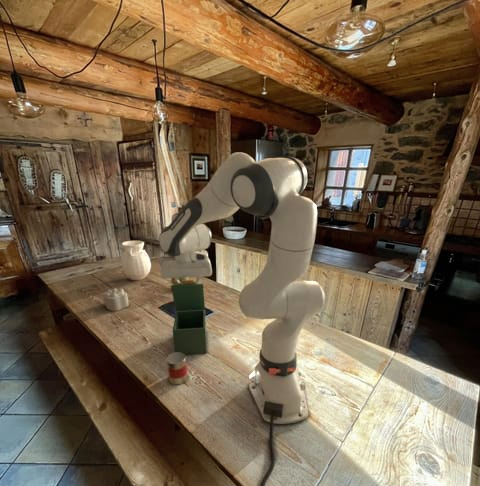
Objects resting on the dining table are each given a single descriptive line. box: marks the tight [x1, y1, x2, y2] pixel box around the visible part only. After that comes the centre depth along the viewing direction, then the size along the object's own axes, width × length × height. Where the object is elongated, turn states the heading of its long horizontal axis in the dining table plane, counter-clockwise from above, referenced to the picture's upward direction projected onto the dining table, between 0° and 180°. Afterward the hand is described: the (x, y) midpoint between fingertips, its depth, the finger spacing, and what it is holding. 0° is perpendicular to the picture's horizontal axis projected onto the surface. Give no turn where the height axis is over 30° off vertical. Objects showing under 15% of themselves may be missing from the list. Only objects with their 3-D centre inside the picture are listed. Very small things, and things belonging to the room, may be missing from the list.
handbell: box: [170, 277, 190, 285], centre depth 161 cm, size 12×12×25 cm
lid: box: [170, 279, 206, 312], centre depth 113 cm, size 16×13×5 cm
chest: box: [172, 309, 207, 356], centre depth 113 cm, size 16×13×12 cm
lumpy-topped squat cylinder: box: [103, 288, 130, 312], centre depth 146 cm, size 10×13×9 cm
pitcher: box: [120, 240, 152, 281], centre depth 180 cm, size 19×18×25 cm
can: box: [166, 351, 188, 385], centre depth 94 cm, size 6×6×9 cm
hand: (188, 286), depth 110 cm, fingers closed on lid, 5 cm apart
